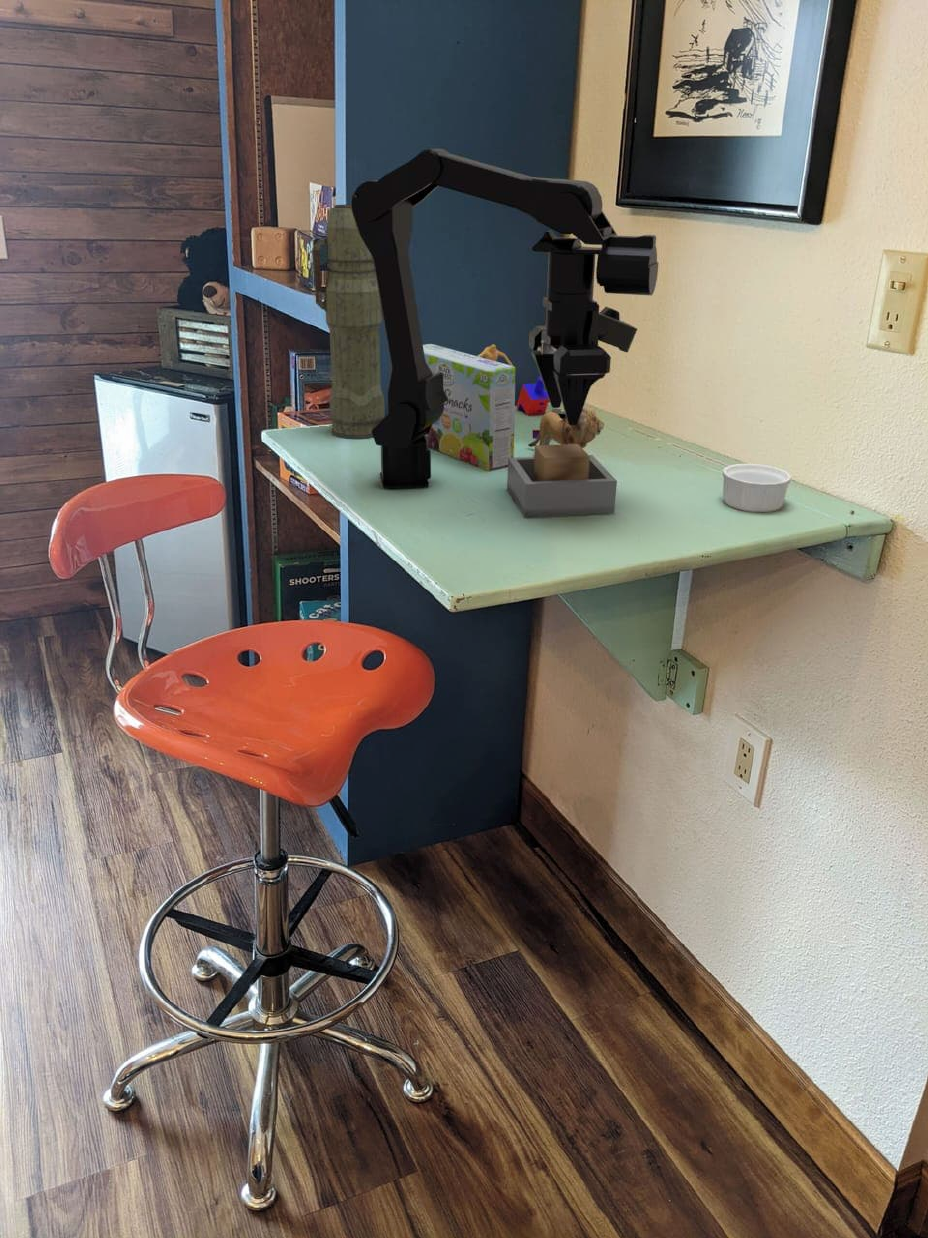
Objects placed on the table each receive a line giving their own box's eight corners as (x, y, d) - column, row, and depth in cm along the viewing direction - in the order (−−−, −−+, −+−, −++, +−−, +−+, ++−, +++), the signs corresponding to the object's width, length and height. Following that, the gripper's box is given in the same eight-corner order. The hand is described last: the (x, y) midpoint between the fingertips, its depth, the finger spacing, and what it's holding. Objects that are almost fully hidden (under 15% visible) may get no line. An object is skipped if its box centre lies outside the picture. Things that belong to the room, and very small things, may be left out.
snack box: (405, 440, 163) (404, 346, 157) (433, 435, 166) (433, 342, 160) (487, 472, 148) (489, 369, 142) (516, 465, 151) (519, 364, 145)
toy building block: (524, 422, 181) (535, 387, 174) (516, 407, 183) (526, 371, 177) (542, 420, 182) (553, 385, 176) (533, 405, 184) (544, 370, 178)
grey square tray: (524, 517, 130) (526, 484, 128) (507, 488, 141) (508, 457, 139) (614, 513, 132) (616, 480, 130) (590, 485, 143) (592, 454, 141)
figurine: (483, 419, 176) (484, 349, 171) (465, 412, 180) (466, 344, 175) (523, 414, 180) (525, 345, 174) (504, 407, 184) (506, 340, 179)
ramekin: (786, 497, 139) (791, 466, 137) (786, 517, 132) (791, 485, 130) (721, 490, 141) (724, 460, 140) (716, 510, 134) (720, 479, 132)
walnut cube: (542, 501, 133) (544, 457, 130) (533, 487, 138) (534, 445, 136) (586, 500, 134) (589, 456, 131) (575, 486, 139) (578, 443, 136)
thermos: (318, 427, 170) (306, 203, 155) (387, 423, 173) (381, 203, 158) (326, 441, 162) (314, 207, 147) (397, 436, 165) (393, 206, 150)
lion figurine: (606, 468, 150) (610, 408, 147) (580, 474, 148) (584, 413, 144) (540, 446, 161) (542, 390, 157) (515, 452, 158) (516, 394, 154)
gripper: (657, 300, 117) (645, 432, 124) (611, 281, 134) (604, 397, 141) (564, 302, 116) (558, 435, 123) (530, 282, 133) (526, 400, 139)
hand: (564, 415), depth 131 cm, fingers open, 9 cm apart
